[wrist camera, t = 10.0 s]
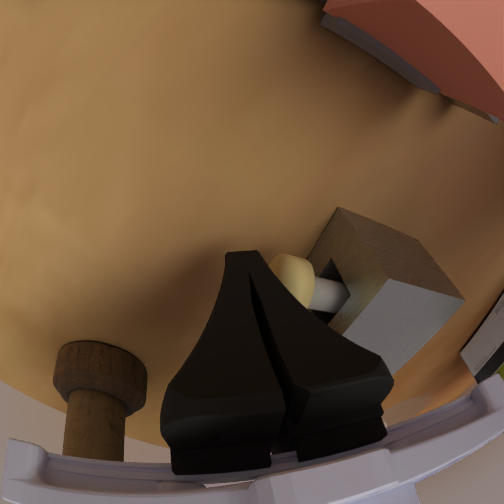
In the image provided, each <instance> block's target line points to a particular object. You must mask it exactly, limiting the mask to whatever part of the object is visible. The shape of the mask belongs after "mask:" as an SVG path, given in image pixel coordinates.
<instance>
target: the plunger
mask: <svg viewBox="0 0 504 504" xmlns="http://www.w3.org/2000/svg"><path fill="white" fill-rule="evenodd" d="M269 267H270V269H271V270H272V271H273V273H274V274H275V275H276V276H277V278H278V279H279V280H280V281H281V282H282V283H283V285H284V286H285V287H286V288H287V289H288V290H289V291H290V293H291V294H292V295H293V296H294V297H295V298H296V299H297V300H298V301H299V302H300V303H301V304H302V305H303V306H305V307H306V308H307V309H313V310H319V311H325V312H331V313H338V311H339V310H340V309H341V308H342V306H343V305H344V304H345V302H346V301H347V300H348V299H349V297H350V296H351V294H350V292H349V290H348V288H347V286H346V284H345V283H341V282H337V281H333V280H328V279H324V278H320V277H316V276H315V275H314V270H313V267H312V265H311V263H310V262H309V261H308V260H306V259H304V258H300V257H296V256H292V255H289V254H285V253H280V254H278V255H276V256H275V257H274V258H273V259H272V261H271V262H270V264H269Z"/></svg>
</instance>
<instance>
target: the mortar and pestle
mask: <svg viewBox="0 0 504 504" xmlns="http://www.w3.org/2000/svg"><path fill="white" fill-rule="evenodd" d="M53 384H54V386H55V388H56V390H57V391H58V392H59V393H60V395H61V396H62V398H63V399H64V400H65V401H66V402H67V403H68V408H67V417H66V424H65V433H64V443H63V453H62V455H66V456H72V457H80V458H88V459H96V460H107V461H119V462H124V434H125V417H128V416H130V415H132V414H133V413H134V412H136V411H138V410H140V409H141V408H142V407H143V406H144V405H145V402H146V391H147V372H146V369H145V367H144V366H143V364H142V363H141V362H140V361H139V360H138V359H137V358H135V357H134V356H132V355H131V354H129V353H127V352H125V351H123V350H121V349H119V348H114V347H111V346H108V345H106V344H102V343H97V342H89V341H81V342H74V343H70V344H67V345H65V346H64V347H62V348H61V350H60V351H59V353H58V357H57V361H56V366H55V371H54V376H53Z"/></svg>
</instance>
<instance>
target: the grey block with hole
mask: <svg viewBox="0 0 504 504" xmlns="http://www.w3.org/2000/svg"><path fill="white" fill-rule="evenodd" d="M306 260H308V261H309V262H310V263H311V265H312V267H313V270H314V275H315V276H316V277H320V278H324V279H328V280H333V281H337V282H341V283H345V284H346V286H347V288H348V290H349V292H350V294H351V296H350V297H349V299H348V300H347V301H346V302H345V304H344V305H343V306H342V308H341V309H340V310H339V311H338V313H331V312H325V311H319V310H313V309H308V310H309V311H310V312H311V313H312V314H314V315H315V316H316V317H317V318H318V319H320V320H321V321H322V322H323V323H325V324H326V325H328V326H329V327H331V328H332V329H333V330H335V331H336V332H338V333H339V334H341V335H342V336H344V337H346V338H347V339H349V340H351V341H352V342H354V343H356V344H357V345H359V346H361V347H363V348H365V349H367V350H369V351H371V352H374V353H376V354H378V355H380V356H381V357H382V359H383V361H384V362H385V364H386V365H387V367H388V369H389V371H390V373H391V375H393V374H395V373H396V372H397V371H398V370H399V369H400V368H401V367H402V366H403V365H404V364H405V363H407V362H408V361H409V360H410V359H411V358H412V357H413V356H414V355H415V354H416V353H417V352H418V351H419V350H420V349H421V348H422V347H423V346H424V345H425V344H426V343H427V342H428V341H429V340H430V339H431V338H432V337H433V336H434V335H435V334H436V333H437V332H438V331H439V330H440V329H441V328H442V326H443V325H444V324H445V323H446V322H447V321H448V320H449V319H450V318H451V317H452V316H453V314H454V313H455V312H456V311H457V310H458V309H459V308H460V306H461V305H462V304H463V303H464V302H465V301H466V300H465V299H464V298H463V296H462V295H461V294H460V292H459V291H458V290H457V288H456V287H455V286H454V284H453V283H452V282H451V280H450V279H449V278H448V277H447V275H446V274H445V273H444V271H443V270H442V269H441V268H440V266H439V265H438V264H437V263H436V262H435V260H434V259H433V258H432V257H431V255H430V254H429V253H428V252H427V251H426V250H425V248H424V247H423V246H422V245H421V244H420V242H419V241H418V240H416V239H414V238H412V237H410V236H407V235H405V234H403V233H401V232H398V231H396V230H394V229H391V228H389V227H387V226H384V225H382V224H379V223H377V222H375V221H372V220H370V219H367V218H365V217H363V216H360V215H358V214H355V213H353V212H350V211H348V210H345V209H343V208H340V207H338V209H337V210H336V212H335V214H334V215H333V217H332V219H331V220H330V222H329V224H328V225H327V227H326V229H325V230H324V232H323V234H322V235H321V237H320V238H319V240H318V242H317V243H316V245H315V247H314V248H313V250H312V251H311V253H310V255H309V256H308V258H307V259H306Z"/></svg>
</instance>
